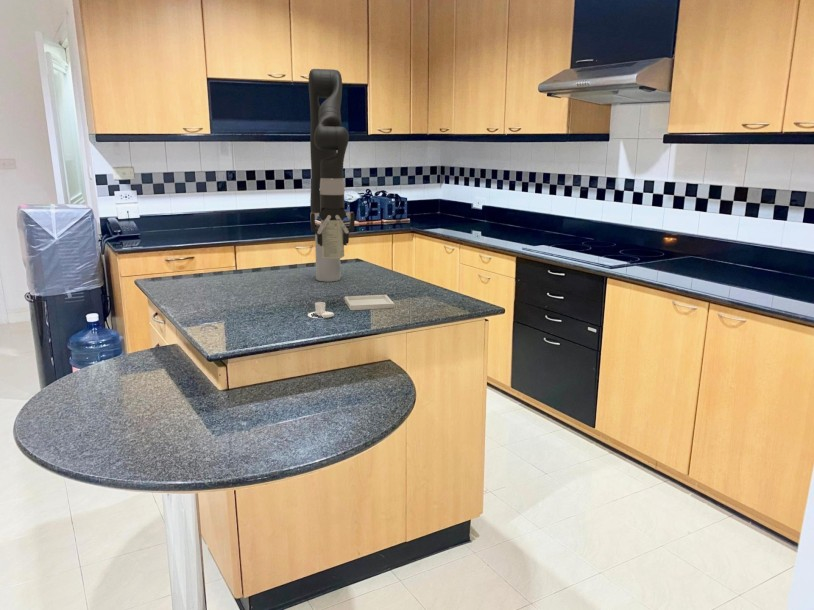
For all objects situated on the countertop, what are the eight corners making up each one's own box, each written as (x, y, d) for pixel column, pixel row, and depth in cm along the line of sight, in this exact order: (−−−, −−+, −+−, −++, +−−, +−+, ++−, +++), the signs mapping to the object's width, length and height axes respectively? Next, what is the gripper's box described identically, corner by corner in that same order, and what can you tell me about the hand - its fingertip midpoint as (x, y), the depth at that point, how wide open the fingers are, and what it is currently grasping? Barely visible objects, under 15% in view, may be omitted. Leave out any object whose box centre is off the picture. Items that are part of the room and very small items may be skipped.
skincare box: (344, 256, 206) (344, 218, 203) (339, 259, 202) (339, 220, 199) (326, 255, 208) (325, 218, 205) (321, 258, 204) (320, 219, 201)
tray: (344, 300, 212) (344, 296, 211) (386, 299, 215) (386, 294, 215) (350, 310, 200) (350, 305, 200) (394, 308, 204) (394, 303, 203)
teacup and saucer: (336, 319, 192) (336, 306, 191) (309, 321, 189) (309, 307, 188) (331, 312, 200) (331, 299, 199) (305, 313, 198) (305, 300, 197)
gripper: (353, 191, 205) (353, 243, 209) (308, 192, 202) (309, 244, 206) (356, 193, 198) (357, 246, 202) (309, 194, 195) (311, 247, 199)
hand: (332, 245), depth 204 cm, fingers closed on skincare box, 7 cm apart
